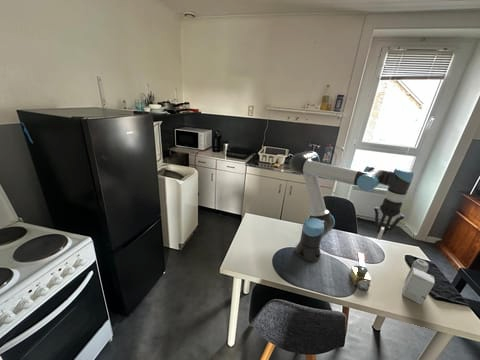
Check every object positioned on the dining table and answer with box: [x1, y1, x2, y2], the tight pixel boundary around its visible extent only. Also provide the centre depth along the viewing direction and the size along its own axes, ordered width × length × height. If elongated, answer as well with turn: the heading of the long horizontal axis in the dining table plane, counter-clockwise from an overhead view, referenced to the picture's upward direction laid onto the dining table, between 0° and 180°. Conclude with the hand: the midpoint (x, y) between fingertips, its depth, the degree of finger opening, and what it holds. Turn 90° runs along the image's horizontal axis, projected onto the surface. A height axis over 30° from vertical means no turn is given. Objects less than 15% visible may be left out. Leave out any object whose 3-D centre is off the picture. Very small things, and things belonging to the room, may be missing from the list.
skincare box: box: [401, 268, 435, 306], centre depth 101 cm, size 8×6×15 cm
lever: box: [357, 252, 368, 275], centre depth 113 cm, size 16×4×2 cm, turn 155°
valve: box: [349, 265, 372, 292], centre depth 110 cm, size 13×7×6 cm, turn 171°
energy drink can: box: [405, 258, 429, 282], centre depth 109 cm, size 6×6×15 cm
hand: (378, 238), depth 109 cm, fingers closed
